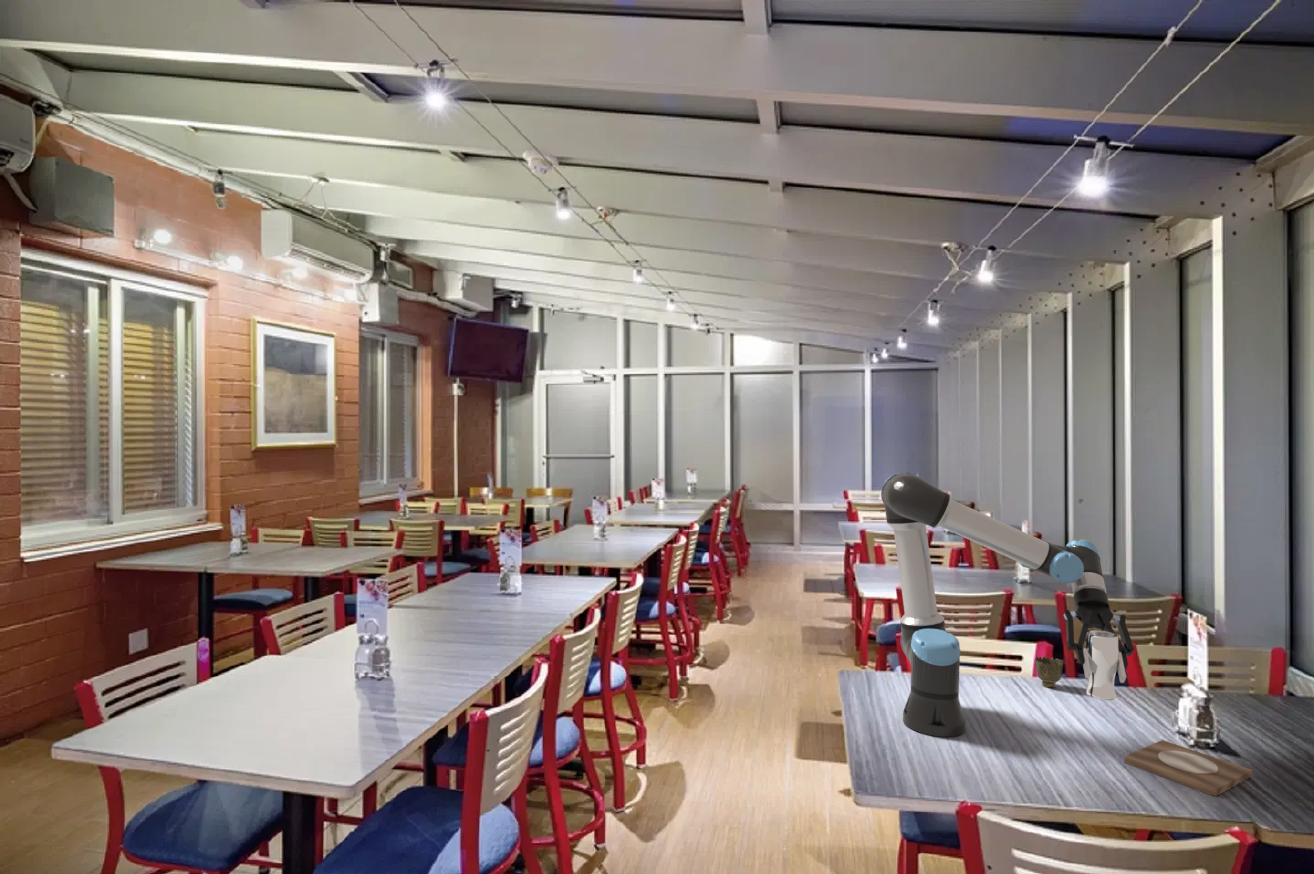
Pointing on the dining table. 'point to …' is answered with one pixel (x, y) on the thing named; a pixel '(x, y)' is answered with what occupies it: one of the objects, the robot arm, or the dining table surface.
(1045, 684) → the cup
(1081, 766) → the dining table surface
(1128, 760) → the serving board
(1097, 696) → the beer glass
